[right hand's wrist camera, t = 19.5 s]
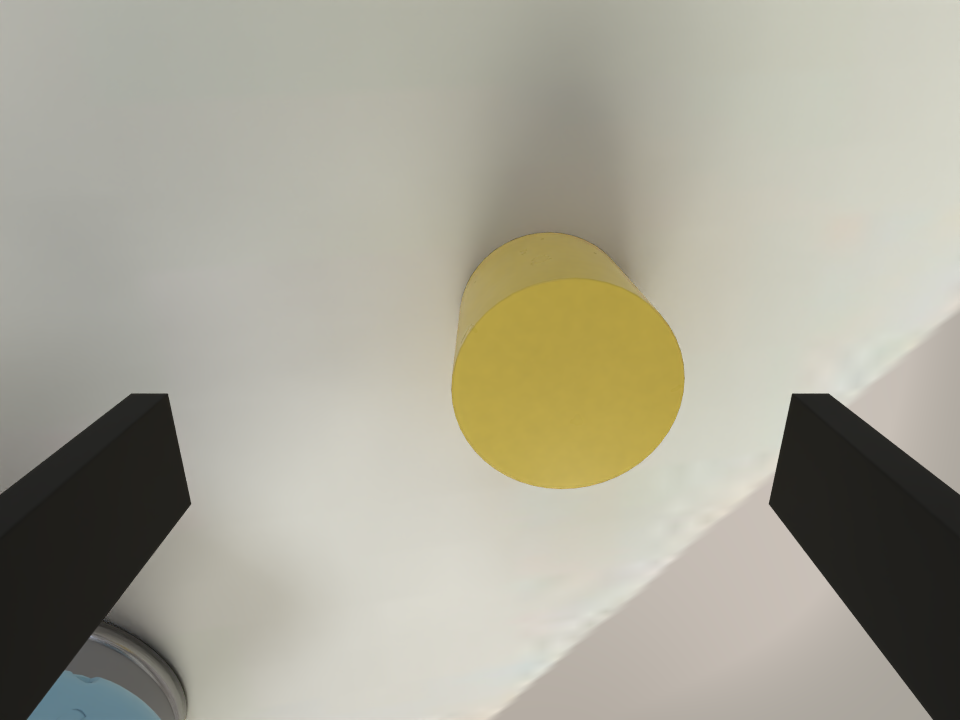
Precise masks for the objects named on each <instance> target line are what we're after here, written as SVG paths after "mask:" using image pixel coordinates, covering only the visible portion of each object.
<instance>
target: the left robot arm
mask: <svg viewBox="0 0 960 720" xmlns="http://www.w3.org/2000/svg"><path fill="white" fill-rule="evenodd" d="M186 711H187V706H186V699H185V695H184V691H183V689H182V686H181V684H180V682H179V680H178V678H177V676H176V675H175V673H174V672H173V670H172V669H171V668H170V666H169V665H168V664H167V663H166V662H165V661H164V660H163V659H162V658H161V657H160V655H158V654H157V653H156V652H155V651H154V650H153V649H152V648H150V647H149V646H148V645H146V644H145V643H144V642H142V641H141V640H139V639H137V638H136V637H134V636H133V635H131V634H129V633H127V632H125V631H123V630H121V629H119V628H117V627H115V626H113V625H110V624H107V623H105V622H101V623H100V624H99V626H98V627H97V628H96V630H95V631H94V632H93V634H92V635H91V636H90V637H89V639H88V640H87V641H86V643H85V644H84V645H83V647H82V648H81V649H80V651H79V652H78V653H77V655H76V656H75V657H74V659H73V660H72V661H71V662H70V664H69V665H68V666H67V668H66V669H65V670H64V672H63V673H62V674H61V676H60V677H59V678H58V680H57V681H56V682H55V683H54V685H53V686H52V687H51V689H50V690H49V691H48V693H47V694H46V695H45V697H44V698H43V699H42V701H41V702H40V703H39V704H38V706H37V707H36V708H35V710H34V711H33V712H32V714H31V715H30V716H29V718H28V719H27V720H185V719H186Z"/></svg>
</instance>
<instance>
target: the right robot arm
mask: <svg viewBox="0 0 960 720" xmlns="http://www.w3.org/2000/svg"><path fill="white" fill-rule="evenodd" d="M190 505H191V501H190V496H189V491H188V487H187V482H186V477H185V472H184V468H183V463H182V458H181V454H180V449H179V444H178V439H177V435H176V430H175V425H174V420H173V416H172V411H171V406H170V402H169V397H168V394H130V395H129V396H128V397H126V398H125V399H124V400H122V401H121V402H120V403H119V404H117V405H116V406H115V407H113V408H112V409H111V410H110V411H108V412H107V413H106V414H104V415H103V416H102V417H100V418H99V419H98V420H97V421H95V422H94V423H93V424H91V425H90V426H89V427H87V428H86V429H85V430H84V431H82V432H81V433H80V434H78V435H77V436H76V437H75V438H73V439H72V440H71V441H69V442H68V443H67V444H65V445H64V446H63V447H62V448H60V449H59V450H58V451H56V452H55V453H54V454H52V455H51V456H50V457H49V458H47V459H46V460H45V461H43V462H42V463H41V464H40V465H38V466H37V467H36V468H34V469H33V470H32V471H30V472H29V473H28V474H27V475H25V476H24V477H23V478H21V479H20V480H19V481H18V482H16V483H15V484H14V485H12V486H11V487H10V488H8V489H7V490H6V491H5V492H3V493H2V494H1V495H0V720H27V719H28V718H29V716H30V715H31V714H32V712H33V711H34V710H35V708H36V707H37V706H38V704H39V703H40V702H41V701H42V699H43V698H44V697H45V695H46V694H47V693H48V691H49V690H50V689H51V687H52V686H53V685H54V683H55V682H56V681H57V680H58V678H59V677H60V676H61V674H62V673H63V672H64V670H65V669H66V668H67V666H68V665H69V664H70V662H71V661H72V660H73V659H74V657H75V656H76V655H77V653H78V652H79V651H80V649H81V648H82V647H83V645H84V644H85V643H86V641H87V640H88V639H89V637H90V636H91V635H92V634H93V632H94V631H95V630H96V628H97V627H98V626H99V624H100V623H101V622H102V620H103V619H104V618H105V616H106V615H107V614H108V613H109V611H110V610H111V609H112V607H113V606H114V605H115V603H116V602H117V601H118V599H119V598H120V597H121V595H122V594H123V593H124V592H125V590H126V589H127V588H128V586H129V585H130V584H131V582H132V581H133V580H134V578H135V577H136V576H137V574H138V573H139V572H140V571H141V569H142V568H143V567H144V565H145V564H146V563H147V561H148V560H149V559H150V557H151V556H152V555H153V553H154V552H155V551H156V550H157V548H158V547H159V546H160V544H161V543H162V542H163V540H164V539H165V538H166V536H167V535H168V534H169V532H170V531H171V530H172V528H173V527H174V526H175V525H176V523H177V522H178V521H179V519H180V518H181V517H182V515H183V514H184V513H185V511H186V510H187V509H188V507H189V506H190ZM769 505H770V506H771V507H772V509H773V510H774V511H775V513H776V514H777V515H778V517H779V518H780V519H781V521H782V522H783V523H784V525H785V526H786V527H787V528H788V530H789V531H790V532H791V534H792V535H793V536H794V538H795V539H796V540H797V542H798V543H799V544H800V546H801V547H802V548H803V550H804V551H805V552H806V553H807V555H808V556H809V557H810V559H811V560H812V561H813V563H814V564H815V565H816V567H817V568H818V569H819V571H820V572H821V573H822V574H823V576H824V577H825V578H826V580H827V581H828V582H829V584H830V585H831V586H832V588H833V589H834V590H835V592H836V593H837V594H838V595H839V597H840V598H841V599H842V601H843V602H844V603H845V605H846V606H847V607H848V609H849V610H850V611H851V612H852V614H853V615H854V616H855V618H856V619H857V620H858V622H859V623H860V624H861V626H862V627H863V628H864V630H865V631H866V632H867V634H868V635H869V636H870V637H871V639H872V640H873V641H874V643H875V644H876V645H877V647H878V648H879V649H880V651H881V652H882V653H883V655H884V656H885V657H886V658H887V660H888V661H889V662H890V664H891V665H892V666H893V668H894V669H895V670H896V672H897V673H898V674H899V676H900V677H901V678H902V680H903V681H904V682H905V683H906V685H907V686H908V687H909V689H910V690H911V691H912V693H913V694H914V695H915V697H916V698H917V699H918V701H919V702H920V703H921V704H922V706H923V707H924V708H925V710H926V711H927V712H928V714H929V715H930V716H931V718H932V719H933V720H960V495H959V494H958V493H957V492H955V491H954V490H953V489H952V488H950V487H949V486H948V485H946V484H945V483H944V482H942V481H941V480H940V479H939V478H937V477H936V476H935V475H933V474H932V473H931V472H930V471H928V470H927V469H926V468H924V467H923V466H922V465H920V464H919V463H918V462H917V461H915V460H914V459H913V458H911V457H910V456H909V455H908V454H906V453H905V452H904V451H902V450H901V449H900V448H898V447H897V446H896V445H894V444H893V443H892V442H891V441H889V440H888V439H887V438H885V437H884V436H883V435H882V434H880V433H879V432H878V431H876V430H875V429H874V428H872V427H871V426H870V425H869V424H867V423H866V422H865V421H863V420H862V419H861V418H860V417H858V416H857V415H856V414H854V413H853V412H852V411H850V410H849V409H848V408H847V407H845V406H844V405H843V404H841V403H840V402H839V401H838V400H836V399H835V398H834V397H832V396H831V395H830V394H792V397H791V402H790V406H789V411H788V416H787V420H786V425H785V430H784V435H783V439H782V444H781V449H780V454H779V458H778V463H777V468H776V472H775V477H774V482H773V487H772V491H771V496H770V501H769Z"/></svg>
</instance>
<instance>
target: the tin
mask: <svg viewBox="0 0 960 720" xmlns="http://www.w3.org/2000/svg"><path fill="white" fill-rule="evenodd" d="M684 379H685V377H684V364H683V359H682V354H681V350H680V348H679V345H678V342H677V340H676V337H675V335H674V334H673V332H672V330H671V328H670V327H669V325H668V324H667V322H666V321H665V320H664V318H663V317H662V316H661V315H660V313H659V312H658V311H657V310H656V309H655V308H654V307H653V305H652V304H651V303H650V302H649V301H648V300H647V299H646V298H645V296H644V295H643V294H642V293H641V292H640V291H639V290H638V289H637V287H636V286H635V285H634V284H633V283H632V282H631V281H630V280H629V278H628V277H627V276H626V275H625V274H624V273H623V272H622V271H621V269H620V268H619V267H618V266H617V265H616V264H615V263H614V262H613V260H612V259H611V258H610V257H609V256H607V255H606V254H605V253H604V252H603V251H602V250H600V249H599V248H598V247H596V246H595V245H593V244H591V243H589V242H587V241H586V240H583V239H581V238H578V237H575V236H572V235H567V234H562V233H536V234H531V235H526V236H523V237H520V238H517V239H514V240H512V241H510V242H508V243H506V244H504V245H502V246H501V247H499V248H498V249H496V250H495V251H493V252H492V253H491V254H490V255H489V256H487V257H486V258H485V259H484V260H483V261H482V263H481V264H480V265H479V266H478V267H477V268H476V270H475V271H474V273H473V274H472V276H471V277H470V279H469V281H468V283H467V285H466V288H465V291H464V294H463V296H462V301H461V306H460V314H459V323H458V331H457V340H456V348H455V357H454V365H453V374H452V388H451V391H452V403H453V408H454V412H455V416H456V419H457V421H458V424H459V427H460V429H461V431H462V433H463V434H464V436H465V438H466V440H467V441H468V443H469V444H470V445H471V447H472V448H473V449H474V451H475V452H476V453H477V454H478V455H479V456H480V457H481V458H482V459H483V460H484V461H485V462H487V463H488V464H489V465H491V466H492V467H493V468H494V469H496V470H498V471H499V472H501V473H503V474H504V475H506V476H508V477H510V478H513V479H515V480H517V481H520V482H523V483H526V484H529V485H533V486H538V487H544V488H554V489H570V488H580V487H586V486H591V485H595V484H598V483H602V482H605V481H607V480H610V479H612V478H615V477H617V476H619V475H621V474H623V473H625V472H627V471H629V470H630V469H632V468H633V467H634V466H636V465H637V464H639V463H640V462H642V461H643V460H644V459H645V458H646V457H647V456H648V455H650V454H651V453H652V452H653V451H654V450H655V448H656V447H657V446H658V445H659V444H660V443H661V442H662V440H663V439H664V437H665V436H666V435H667V433H668V432H669V430H670V428H671V426H672V424H673V423H674V421H675V419H676V416H677V413H678V411H679V408H680V405H681V401H682V396H683V391H684Z"/></svg>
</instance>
